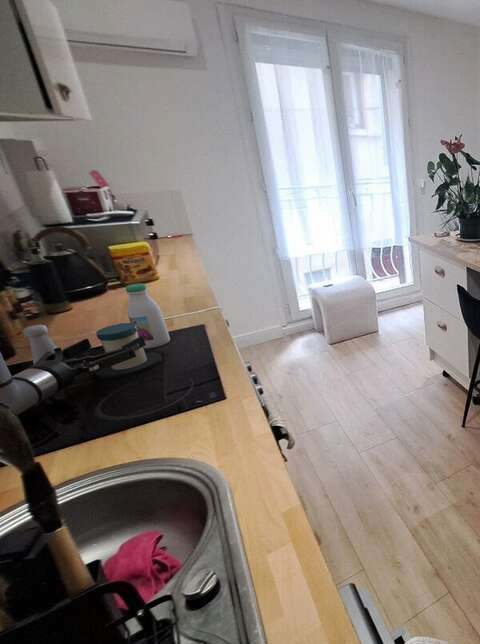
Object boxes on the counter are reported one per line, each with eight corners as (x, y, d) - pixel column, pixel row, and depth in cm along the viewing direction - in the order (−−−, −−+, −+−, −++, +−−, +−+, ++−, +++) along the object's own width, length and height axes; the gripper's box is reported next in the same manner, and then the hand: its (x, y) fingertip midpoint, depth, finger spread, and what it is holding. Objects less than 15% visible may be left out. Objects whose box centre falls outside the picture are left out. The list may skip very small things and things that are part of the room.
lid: (95, 343, 110) (92, 337, 109) (102, 332, 116) (99, 326, 115) (135, 335, 114) (133, 330, 113) (140, 326, 120) (138, 320, 120)
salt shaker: (32, 370, 115) (12, 328, 111) (60, 361, 120) (42, 321, 116) (44, 374, 114) (23, 332, 109) (71, 365, 119) (53, 324, 114)
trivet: (91, 383, 109) (89, 380, 109) (102, 363, 120) (101, 360, 120) (159, 369, 117) (158, 366, 117) (164, 350, 128) (163, 347, 127)
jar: (108, 372, 113) (94, 338, 109) (114, 361, 119) (101, 328, 115) (145, 364, 117) (133, 331, 114) (148, 354, 123) (137, 322, 119)
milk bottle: (163, 337, 137) (144, 280, 130) (175, 341, 134) (156, 283, 127) (134, 346, 130) (112, 286, 123) (146, 351, 127) (124, 290, 120)
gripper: (-14, 399, 94) (70, 356, 114) (107, 392, 97) (169, 351, 117) (-30, 370, 91) (59, 331, 111) (95, 364, 95) (160, 327, 114)
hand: (115, 341), depth 114 cm, fingers open, 13 cm apart
